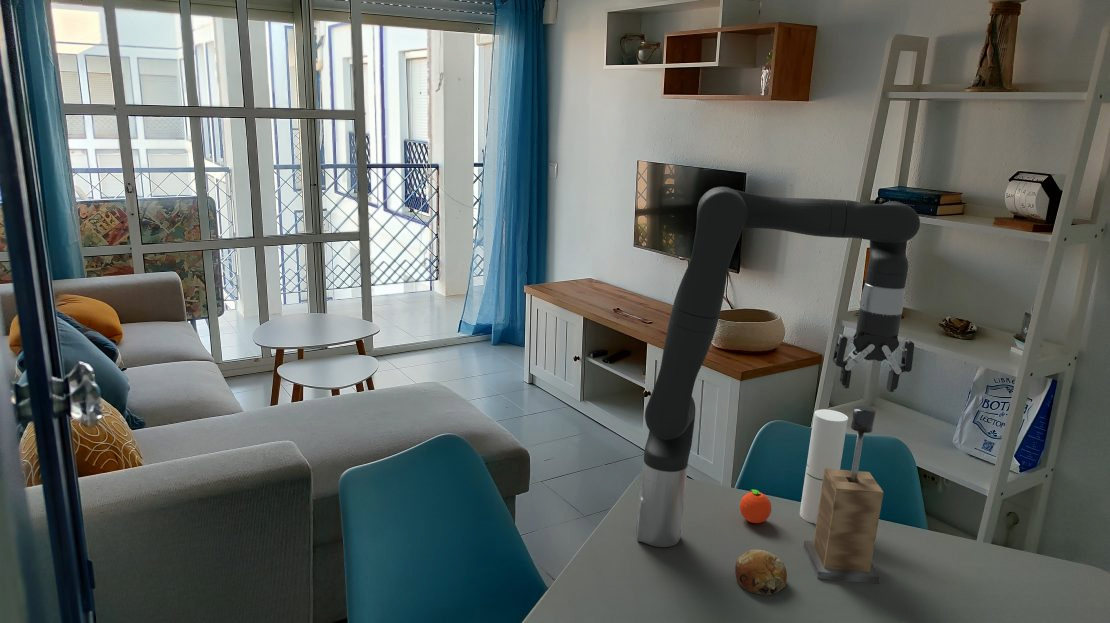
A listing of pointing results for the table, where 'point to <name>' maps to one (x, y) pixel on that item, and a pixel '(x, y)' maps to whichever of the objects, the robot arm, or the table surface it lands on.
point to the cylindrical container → (822, 457)
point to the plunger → (860, 433)
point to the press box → (846, 527)
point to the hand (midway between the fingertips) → (867, 389)
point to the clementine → (755, 507)
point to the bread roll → (760, 572)
